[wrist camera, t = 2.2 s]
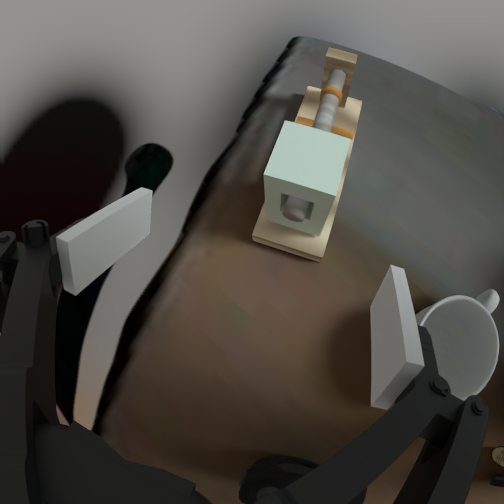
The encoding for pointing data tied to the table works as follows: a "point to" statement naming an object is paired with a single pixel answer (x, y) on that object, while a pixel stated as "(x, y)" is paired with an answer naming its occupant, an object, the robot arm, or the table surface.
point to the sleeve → (304, 174)
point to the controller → (277, 478)
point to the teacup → (463, 340)
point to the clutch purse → (500, 456)
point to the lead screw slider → (330, 120)
